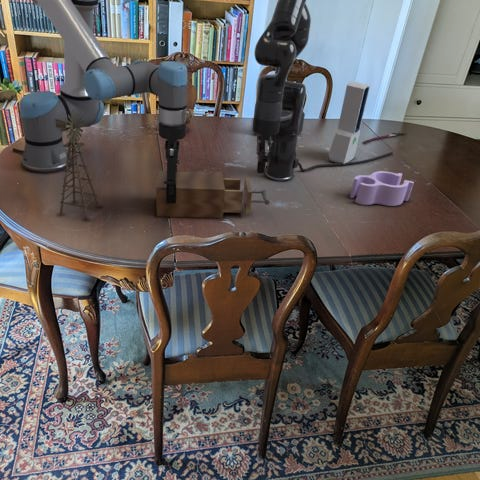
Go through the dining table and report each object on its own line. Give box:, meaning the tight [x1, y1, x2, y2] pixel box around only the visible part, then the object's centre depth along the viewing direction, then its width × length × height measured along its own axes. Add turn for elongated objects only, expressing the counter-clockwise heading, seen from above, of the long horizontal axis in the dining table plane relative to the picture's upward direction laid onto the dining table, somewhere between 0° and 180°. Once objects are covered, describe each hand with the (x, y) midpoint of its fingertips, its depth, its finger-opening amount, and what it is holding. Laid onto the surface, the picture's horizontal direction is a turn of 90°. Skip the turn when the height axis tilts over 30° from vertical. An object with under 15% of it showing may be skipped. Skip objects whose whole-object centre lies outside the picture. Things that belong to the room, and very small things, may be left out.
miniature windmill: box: [55, 109, 100, 220], centre depth 128 cm, size 9×8×30 cm
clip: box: [349, 170, 415, 207], centre depth 159 cm, size 20×12×7 cm, turn 109°
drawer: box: [223, 177, 270, 216], centre depth 142 cm, size 24×10×8 cm, turn 95°
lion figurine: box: [185, 108, 195, 133], centre depth 195 cm, size 15×5×9 cm, turn 110°
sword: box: [363, 132, 408, 145], centre depth 213 cm, size 31×3×1 cm, turn 126°
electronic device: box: [328, 80, 371, 164], centre depth 179 cm, size 12×8×30 cm, turn 148°
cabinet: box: [155, 170, 225, 219], centre depth 140 cm, size 20×11×10 cm, turn 95°
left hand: (171, 193), depth 140 cm, fingers closed on cabinet, 11 cm apart
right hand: (260, 172), depth 139 cm, fingers closed
